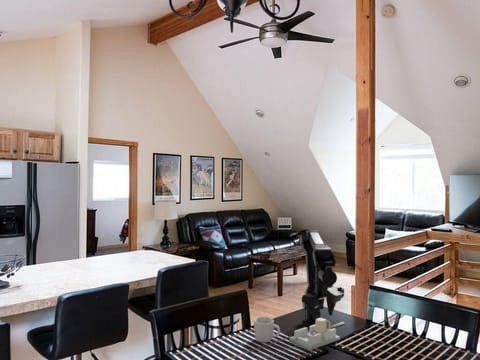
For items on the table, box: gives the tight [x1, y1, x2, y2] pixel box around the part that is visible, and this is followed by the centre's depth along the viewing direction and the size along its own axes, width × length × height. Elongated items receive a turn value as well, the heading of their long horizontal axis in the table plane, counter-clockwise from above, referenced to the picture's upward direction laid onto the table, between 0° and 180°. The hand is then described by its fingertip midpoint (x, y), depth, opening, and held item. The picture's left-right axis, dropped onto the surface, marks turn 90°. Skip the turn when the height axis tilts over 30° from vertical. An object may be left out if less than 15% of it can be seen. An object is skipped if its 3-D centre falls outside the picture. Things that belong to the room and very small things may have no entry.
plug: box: [314, 317, 331, 335], centre depth 154 cm, size 6×3×6 cm, turn 36°
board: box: [289, 324, 341, 351], centre depth 153 cm, size 11×17×4 cm, turn 126°
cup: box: [253, 316, 281, 343], centre depth 152 cm, size 11×8×8 cm
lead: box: [330, 321, 345, 329], centre depth 168 cm, size 8×1×1 cm, turn 126°
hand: (322, 317), depth 154 cm, fingers open, 9 cm apart
